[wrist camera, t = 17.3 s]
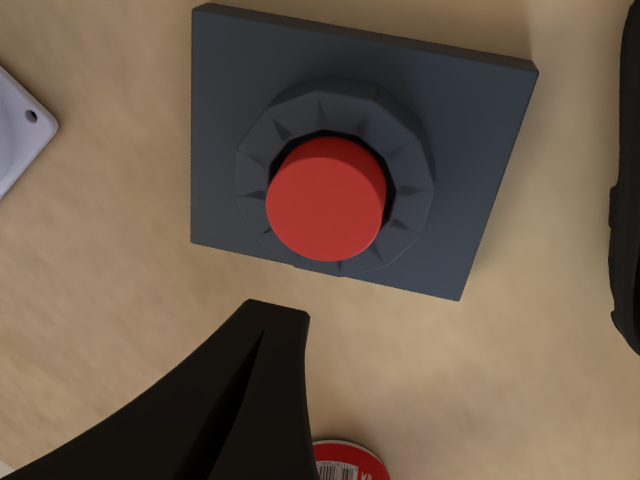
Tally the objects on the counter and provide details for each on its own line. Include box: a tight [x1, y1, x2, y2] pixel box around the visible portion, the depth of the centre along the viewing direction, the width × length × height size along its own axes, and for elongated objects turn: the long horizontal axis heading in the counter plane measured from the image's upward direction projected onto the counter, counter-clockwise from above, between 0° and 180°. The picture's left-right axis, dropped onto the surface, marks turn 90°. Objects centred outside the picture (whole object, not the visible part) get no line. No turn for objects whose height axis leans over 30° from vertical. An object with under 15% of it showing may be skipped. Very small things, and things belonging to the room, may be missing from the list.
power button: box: [266, 136, 387, 261], centre depth 17 cm, size 4×4×2 cm
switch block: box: [191, 3, 539, 301], centre depth 19 cm, size 11×9×3 cm
